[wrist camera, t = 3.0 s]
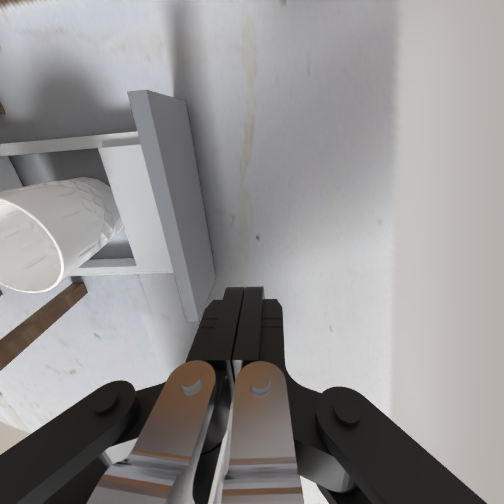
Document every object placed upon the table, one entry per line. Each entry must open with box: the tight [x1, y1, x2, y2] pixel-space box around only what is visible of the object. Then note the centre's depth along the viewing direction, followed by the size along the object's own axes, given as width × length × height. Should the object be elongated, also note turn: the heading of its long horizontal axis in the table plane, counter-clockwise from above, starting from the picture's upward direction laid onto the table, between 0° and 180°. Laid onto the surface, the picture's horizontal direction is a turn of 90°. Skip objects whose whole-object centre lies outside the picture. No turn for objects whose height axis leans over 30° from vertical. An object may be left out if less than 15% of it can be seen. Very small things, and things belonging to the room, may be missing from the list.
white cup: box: [0, 177, 124, 293], centre depth 22 cm, size 8×8×10 cm
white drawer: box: [0, 90, 216, 322], centre depth 23 cm, size 20×18×8 cm
